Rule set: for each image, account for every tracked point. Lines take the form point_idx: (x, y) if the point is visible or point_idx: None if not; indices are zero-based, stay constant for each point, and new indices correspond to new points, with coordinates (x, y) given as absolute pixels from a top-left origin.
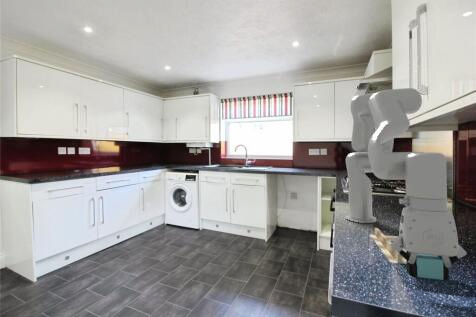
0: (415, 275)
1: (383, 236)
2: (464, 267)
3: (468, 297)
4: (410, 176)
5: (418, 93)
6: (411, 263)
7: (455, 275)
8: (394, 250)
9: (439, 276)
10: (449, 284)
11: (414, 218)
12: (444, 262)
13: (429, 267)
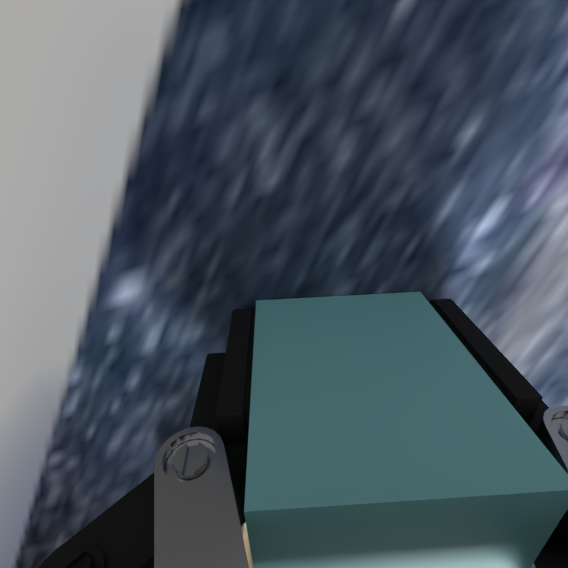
0: (465, 322)
1: None
2: (57, 527)
3: (141, 188)
4: None
5: None
6: (561, 412)
7: (129, 445)
8: None
9: (283, 344)
10: (205, 336)
11: None
12: (227, 483)
13: (382, 396)
